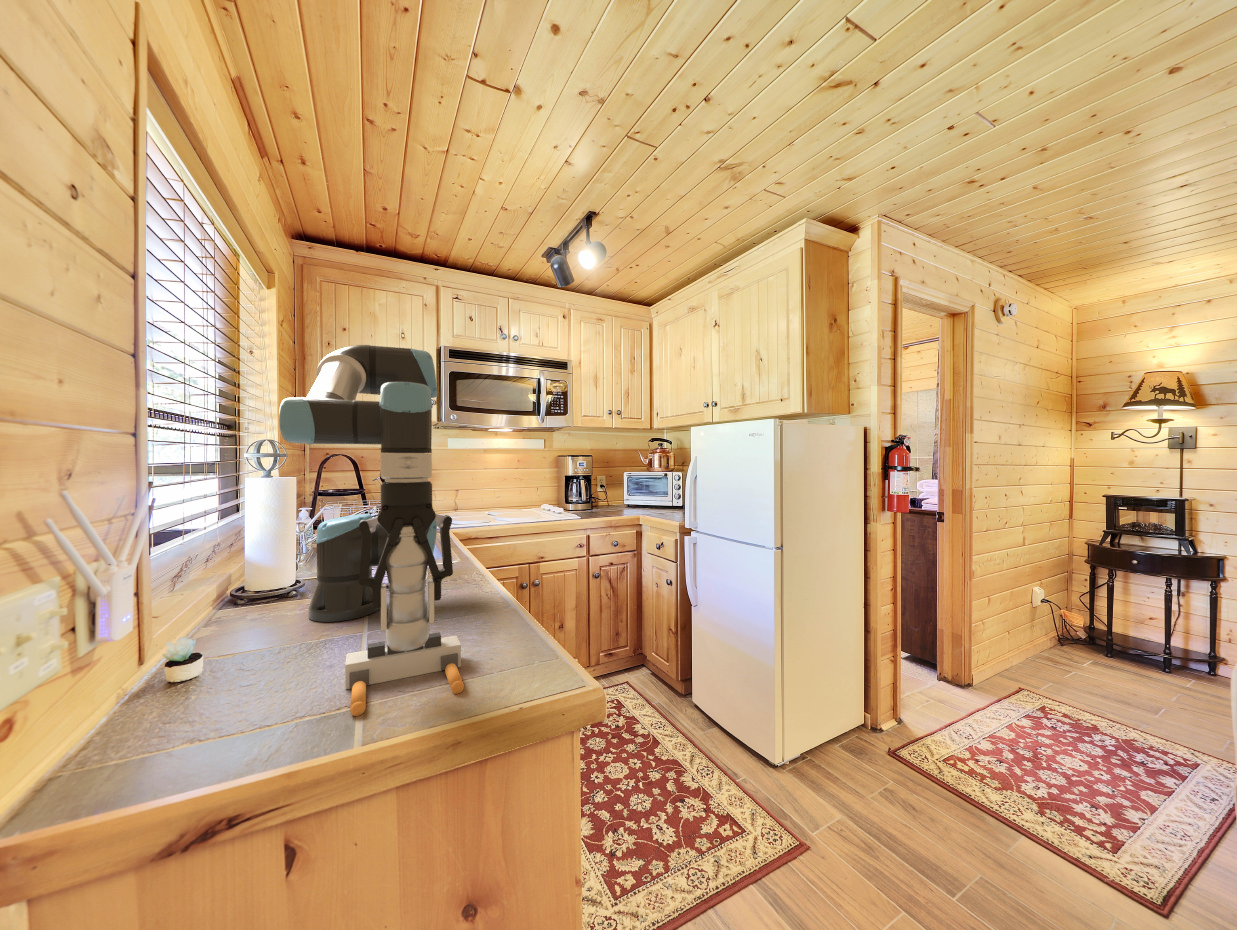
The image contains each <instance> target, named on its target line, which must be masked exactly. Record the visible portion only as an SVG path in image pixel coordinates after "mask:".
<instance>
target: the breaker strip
mask: <svg viewBox="0 0 1237 930" xmlns="http://www.w3.org/2000/svg"><path fill="white" fill-rule="evenodd" d="M345 658H346V659H345V664H344V666H345V667H344V668H345V669H344V672H345V673H344V674H345V675H344V677H345V682H344V683H345V687H344V688H345V690H349V689H352V687H353V685H354V684H355V683H356V682H358V681H363V682H365V684H366V686H370V685H375V684H379V683H384V682H390V681H395V680H400V679H406V678H410V677H416V676H420V675H424V674H425V675H427V674H431V673H436V672H441V671H445V668H446V666H447V665H448V664H451V663H453V664H455V665H456V666H457V668H461V667H462V646H461V642H460V640H459V638H458V636H457V635H451V636H445V637H442V635H441V632H435V633H434V632H432V633H429V638H428V640H427V641H426V643H425V644H424V645H423V646H421V647H419V648H417V649H414V650H409V651H393V650H391V649H390V648H389V647H388V645H387V644H386V640H385V641H377V642H371V643H367V650H359V651H354V652H348V653H346V657H345Z"/></svg>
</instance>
